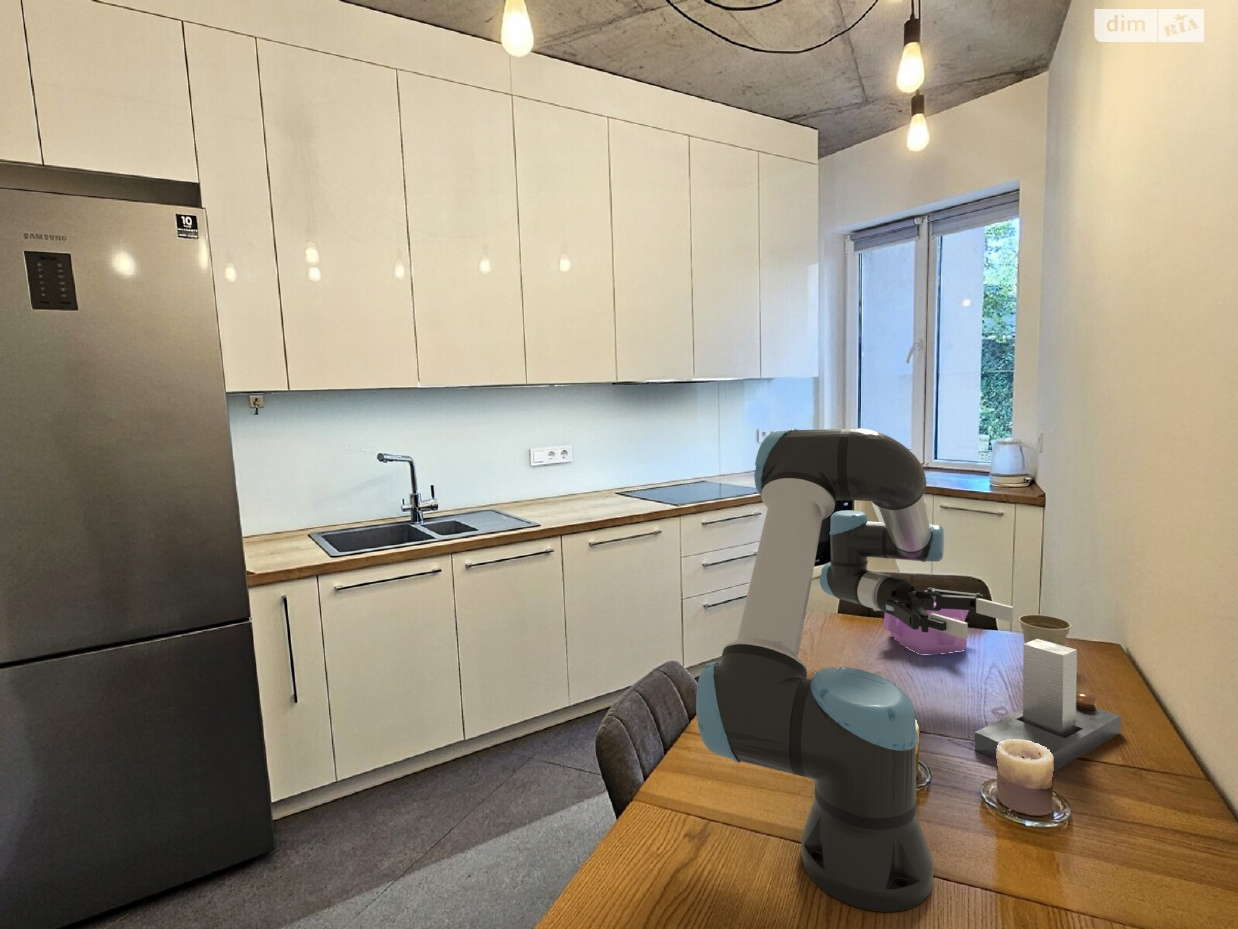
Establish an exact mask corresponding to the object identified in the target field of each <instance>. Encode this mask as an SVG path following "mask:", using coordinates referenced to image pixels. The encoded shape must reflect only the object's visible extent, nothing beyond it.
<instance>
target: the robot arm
mask: <svg viewBox="0 0 1238 929" xmlns="http://www.w3.org/2000/svg"><path fill="white" fill-rule="evenodd" d="M754 466H755V470H754V475H753V477H754V478H753V479H754V484H755V489H756V491H757V493H758V494H759V495H760V497H761V500H762V502H763V504H764V506H765V507H766V508H767V509H766V514H765V518H764V522H763V527H762V531H761V536H760V539H759V544H758V548H757V552H756V556H755V561H754V565H753V569H752V574H751V578H750V582H749V587H748V591H747V593H746V594H747V595H746V600H745V604H744V608H743V612H742V616H741V620H740V624H739V629H738V634H737V639H736V640H734V641H731V642H729V643H727V644H725V645H724V646H723V649H722V653H721V658H720V661H719V662H718V661H712V662H709V663H708V662H707V663H706V664H705V665H704V667H703V668H702V670H701V672H700V675H699V677H698V682H697V688H696V697H695V698H696V702H695V703H696V704H695V709H696V710H695V712H696V721H697V726H698V732H699V736H700V737H701V738H700V739H701V740H702V743H703V744H704V746H705V747H706V748H707V750H708V751H710V752H711V753H712V754H714V755H717V756H721V757H724V758H725V759H729V760H733V761H734V762H735V763H738V764H739V763H746V764H750V765H755V766H759V767H762V768H766V769H771V770H775V771H780V772H783V773H787V774H791V775H795V776H799V777H803V778H807V779H811V780H813V782H814V799H813V802H812V805H811V806H810V810H809V813H808V816H807V819H806V822H805V824H804V828H803V831H802V834H801V843H800V844H801V862H802V865H803V867H804V870H805V872H806V873H807V875H808V876H809V878H810V879H811V880H812V881H813V882H814V884H816V886H818V887H819V888H820V889H821V890H823V891H824V892H825V893H826V894H827V895H830V896H831V897H833V898H835V899H836V900H839V901H840V902H842V903H844V904H847V905H849V906H852V907H856V908H859V909H863V910H867V911H873V912H885V913H886V912H887V913H888V912H890V913H891V912H901V911H905V910H909V909H911V908H914V907H916V906H918V905H920V904H921V903H923V902H925V901H926V899H927V898H928V897H929V895H930V894H931V893H932V889H933V885H934V865H933V858H932V857H933V856H932V855H931V852H930V849H929V845H928V844H927V839H926V837H925V835H924V831H923V828H922V825H921V823H920V821H919V817H918V815H917V771H916V770H917V768H916V763H917V761H916V759H917V758H916V755H917V754H916V753H917V752H916V751H917V750H916V746H917V745H918V739H919V734H918V732H917V728H916V716H915V713H916V712H915V708H914V704H913V702H912V700H911V699H910V697H909V695H908V694H907V693H906V692H905V691H904V690H903V689H902V688H901V687H899V686H897V684H896V683H894V682H893V681H890V680H889V679H888V678H885V677H883V676H881V675H878V674H877V673H873V672H870V671H867V670H863V669H859V668H855V667H854V668H853V667H848V666H847V667H846V666H840V667H839V668H837V667H834V666H833V667H826V668H822V669H820V670H818V671H817V672H815V674H814V676H813V677H812V679H810V678H807V676H808V667H807V666H806V665H805V663H804V662H803V660H802V659H801V657H799V654H800V649H801V642H802V636H803V632H804V627H805V626H804V625H805V622H806V621H805V619H806V615H807V614H806V613H807V608H808V603H809V598H810V592H811V585H812V581H813V580H812V579H813V574H814V568H815V564H816V557H817V551H818V545H819V540H820V534H821V528H822V522H823V520H825V519H827V518H828V517H830V531H829V536H830V537H829V540H830V561H829V562H827V563H826V564H824V566H823V567H822V569H821V574H820V575H819V580H818V581H819V585H820V588H821V590H822V591H823V592H824V593H825V594H827V595H829V596H832V597H834V598H836V599H838V600H841V601H846V602H850V603H853V604H857V605H860V606H862V607H867V608H870V609H872V610H873V611H874V612H878V611H880V612H883V613H884V614H885V613H888V614H890V615H893V616H895V617H896V618H898V619H899V620H900V621H902V622H903V623H905V624H906V625H908V626H909V627H910V628H912V629H914V630H916V629H919V626H921V631H922V632H929V631H928V627H930V629H934V630H937V631H940V632H943V633H946V634H950V635H953V636H956V637H959V638H962V639H967V640H968V638H969V637H968V634H969V632H968V630H969V626H968V624H969V622H966V621H965V622H962V621H959V620H956V619H952V618H949V617H945V616H942V615H938V614H935V613H931V614H930V617H928V613H927V612H926V611H927V610H931V611H940V610H941V609H957V610H969V611H975V613H976V614H979V615H982V616H987V617H990V618H994V619H998V620H1002V621H1005V622H1008V623H1013V622H1014V617H1015V616H1014V608H1015V607H1014V606H1012V605H1007V604H1003V603H999V602H996V601H991V600H988V599H985V598H984V597H983V596H984V595H983V593H982V594H981V593H979V592H975V593H973V592H964V591H955V590H954V591H953V590H947V589H946V590H945V589H939V588H933V587H927V588H926V589H927V590H923V589H915V587H914V585H912V582H910V580H908V579H905V578H900V577H897V576H892V575H889V574H887V573H882V572H878V571H873V570H869V569H868V562H869V560H868V558H874V559H875V558H876V559H887V560H888V559H889V560H901V561H903V560H904V561H912V562H913V561H915V562H921V563H926V562H936V563H937V562H940V561H942V560H943V558H944V550H945V549H944V548H945V547H944V546H945V543H944V542H945V539H944V538H945V533H944V529H943V527H942V525H938V524H932V523H930V521H929V517H928V512H927V510H926V504H925V499H924V495H925V493H926V489H927V477H926V473H925V470H924V469H925V468H924V466H922V463H921V462H920V460H919V459H918V458H917V456H916V455H915V454H914V453H913V452H912V451H911V450H910V449H909V448H908V447H906V446H905V445H904V444H902V442H899V441H898V440H896V439H894V438H893V437H891V436H889V435H887V434H884V433H881V432H879V431H876V430H874V429H873V430H872V429H869V428H868V429H867V428H839V429H835V428H831V429H830V428H829V429H826V428H825V429H797V428H790V429H787V430H777V431H773V432H771V433H769V434H768V435H767V436H766V437H765V438H764V439H763V440H762V442H761V444H760V446H759V447H758V451H757V453H756V457H755V464H754ZM836 501H860V502H861V501H864V502H871V503H873V505H875V506H876V507H877V508H878V509H879V512H880V515H881V517H882V520H883V522H882V521H869V520H868V516H867V514H866V512H864V511H860V510H859V511H858V510H853V509H851V510H839V511H835V509H836V508H835V506H836V503H837V502H836ZM834 511H835V512H834ZM935 602H936V606H934V603H935Z"/></svg>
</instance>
